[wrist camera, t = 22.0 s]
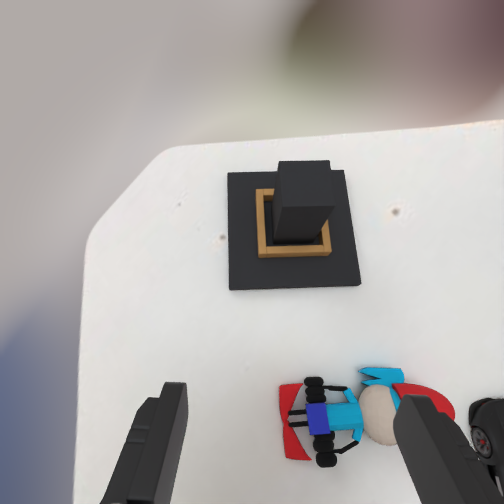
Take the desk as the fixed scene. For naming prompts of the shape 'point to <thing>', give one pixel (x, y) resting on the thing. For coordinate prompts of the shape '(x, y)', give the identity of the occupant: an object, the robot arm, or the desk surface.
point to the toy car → (489, 437)
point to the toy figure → (350, 412)
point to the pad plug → (301, 201)
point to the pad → (286, 255)
